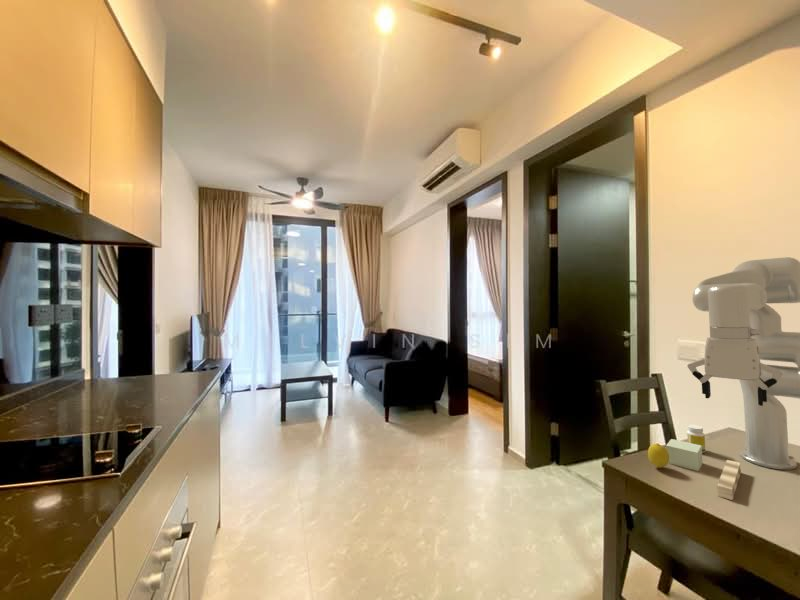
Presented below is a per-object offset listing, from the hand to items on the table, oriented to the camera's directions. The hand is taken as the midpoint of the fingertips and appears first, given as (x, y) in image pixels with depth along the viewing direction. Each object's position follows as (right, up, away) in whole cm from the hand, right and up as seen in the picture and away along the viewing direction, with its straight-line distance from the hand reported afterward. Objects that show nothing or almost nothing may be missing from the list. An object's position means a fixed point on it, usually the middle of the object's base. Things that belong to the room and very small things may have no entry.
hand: (733, 400), depth 87 cm
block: (+10, -29, +27) cm, 41 cm away
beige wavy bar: (+12, -29, +14) cm, 34 cm away
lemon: (0, -30, +25) cm, 38 cm away
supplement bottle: (+21, -28, +35) cm, 49 cm away
